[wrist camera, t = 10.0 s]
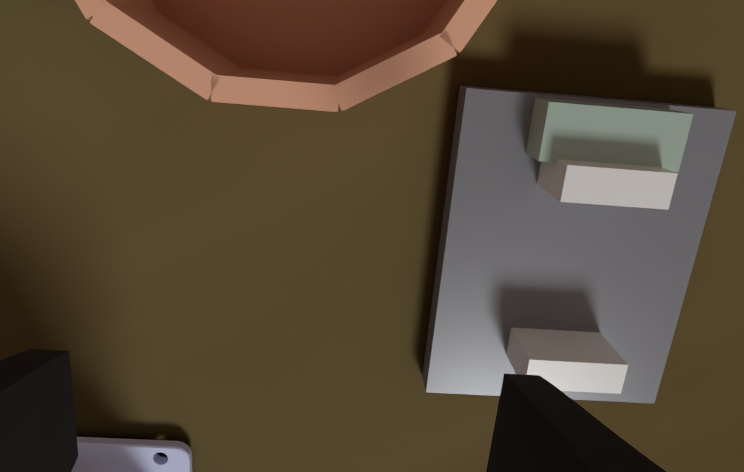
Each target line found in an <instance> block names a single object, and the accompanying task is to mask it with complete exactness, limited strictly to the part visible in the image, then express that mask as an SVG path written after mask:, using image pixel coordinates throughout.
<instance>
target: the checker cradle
mask: <svg viewBox="0 0 744 472" xmlns="http://www.w3.org/2000/svg"><path fill="white" fill-rule="evenodd" d="M736 112H737V111H734V110H728V109H723V108H718V107H708V106H696V105H684V104H673V103H661V102H649V101H638V100H626V99H614V98H603V97H591V96H579V95H567V94H556V93H544V92H532V91H521V90H509V89H497V88H486V87H474V86H462V85H460V89H459V96H458V104H457V112H456V119H455V127H454V135H453V143H452V150H451V158H450V166H449V173H448V181H447V189H446V197H445V204H444V212H443V220H442V227H441V235H440V243H439V251H438V258H437V266H436V274H435V281H434V289H433V297H432V305H431V312H430V320H429V328H428V335H427V343H426V351H425V359H424V366H423V374H422V377H423V381H424V386H425V390H426V392H431V393H451V394H472V395H492V396H500V394H501V388H502V383H503V377H504V374H522V375H539V376H541V377H542V378H544V379H545V380H547V381H548V382H550V383H551V384H552V385H554V386H555V387H557V388H558V389H559V390H560V391H562V392H563V393H564V394H566V395H567V396H568V397H569V398H571V399H574V400H595V401H615V402H635V403H655V399H656V396H657V392H658V389H659V385H660V382H661V378H662V375H663V371H664V367H665V364H666V360H667V357H668V353H669V350H670V346H671V343H672V339H673V335H674V332H675V328H676V325H677V321H678V318H679V314H680V311H681V307H682V304H683V300H684V296H685V293H686V289H687V286H688V282H689V279H690V275H691V272H692V268H693V264H694V261H695V257H696V254H697V250H698V247H699V243H700V240H701V236H702V233H703V229H704V225H705V222H706V218H707V215H708V211H709V208H710V204H711V201H712V197H713V193H714V190H715V186H716V183H717V179H718V176H719V172H720V169H721V165H722V161H723V158H724V154H725V151H726V147H727V144H728V140H729V137H730V133H731V130H732V126H733V122H734V119H735V115H736Z"/></svg>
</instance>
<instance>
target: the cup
mask: <svg viewBox="0 0 744 472" xmlns="http://www.w3.org/2000/svg"><path fill="white" fill-rule="evenodd" d="M75 1H76V3H77V5H78V6H79V8H80V10H81V11H82V13H83V15H84V16H85V18H86V19H91V21H90V23H91V24H92V25H94V26H95V27H97V28H98V29H100V30H101V31H103V32H104V33H106V34H107V35H109V36H110V37H112V38H113V39H115V40H116V41H118V42H120V43H121V44H123V45H124V46H126V47H127V48H129V49H130V50H132V51H133V52H135V53H136V54H138V55H139V56H141V57H142V58H144V59H145V60H147V61H148V62H150V63H151V64H153V65H154V66H156V67H157V68H159V69H160V70H162V71H164V72H165V73H167V74H168V75H170V76H171V77H173V78H174V79H176V80H177V81H179V82H180V83H182V84H183V85H185V86H186V87H188V88H189V89H191V90H192V91H194V92H195V93H197V94H198V95H200V96H201V97H203V98H205V99H206V100H209V99H211V102H222V103H234V104H246V105H258V106H271V107H283V108H295V109H308V110H320V111H332V112H338V107H339V106H340V108H341V110H342V111H344V110H346V109H348V108H350V107H352V106H354V105H356V104H358V103H360V102H362V101H364V100H366V99H368V98H370V97H372V96H374V95H377V94H379V93H381V92H383V91H385V90H387V89H389V88H391V87H393V86H395V85H397V84H399V83H401V82H403V81H405V80H407V79H410V78H412V77H414V76H416V75H418V74H420V73H422V72H424V71H426V70H428V69H430V68H432V67H434V66H436V65H438V64H440V63H443V62H445V61H447V60H449V59H451V58H453V57H455V56H457V54H456V52H461V51H462V50H463V48H464V47H465V45H466V44H467V42H468V41H469V40H470V38H471V37H472V35H473V34H474V33H475V31H476V30H477V28H478V27H479V25H480V24H481V23H482V21H483V20H484V18H485V17H486V16H487V14H488V13H489V11H490V10H491V8H492V7H493V6H494V4H495V3H496V1H497V0H75Z"/></svg>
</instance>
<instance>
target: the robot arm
mask: <svg viewBox="0 0 744 472" xmlns="http://www.w3.org/2000/svg"><path fill="white" fill-rule="evenodd" d="M159 452H161V453H164V454H166V455H167V457H161V456H159V455H158V454H157V453H159ZM0 472H192V452H191V448H190V447H189V446H188V445H187V444H185V443H184V442H180V441H167V440H143V439H120V438H96V437H77V435H76V425H75V414H74V403H73V392H72V382H71V371H70V360H69V351H57V350H37V349H29V350H26V351H24V352H21V353H18V354H16V355H13V356H11V357H9V358H6V359H4V360H2V361H0ZM486 472H666V471H665V470H663V469H662V468H660V467H659V466H658V465H656V464H655V463H654V462H652V461H651V460H649V459H648V458H647V457H645V456H644V455H643V454H641V453H640V452H639V451H637V450H636V449H635V448H633V447H632V446H631V445H629V444H628V443H627V442H625V441H624V440H623V439H622V438H620V437H619V436H618V435H616V434H615V433H614V432H613V431H611V430H610V429H609V428H607V427H606V426H605V425H604V424H602V423H601V422H600V421H599V420H597V419H596V418H595V417H593V416H592V415H591V414H590V413H588V412H587V411H586V410H585V409H583V408H582V407H581V406H580V405H578V404H577V403H576V402H575V401H573V400H572V399H571V398H569V397H568V396H567V395H566V394H564V393H563V392H562V391H560V390H559V389H558V388H557V387H555V386H554V385H552V384H551V383H550V382H548V381H547V380H545V379H544V378H542V377H541V376H539V375H522V374H504V377H503V383H502V388H501V394H500V399H499V405H498V410H497V416H496V421H495V427H494V432H493V438H492V443H491V449H490V454H489V460H488V465H487V471H486Z"/></svg>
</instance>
